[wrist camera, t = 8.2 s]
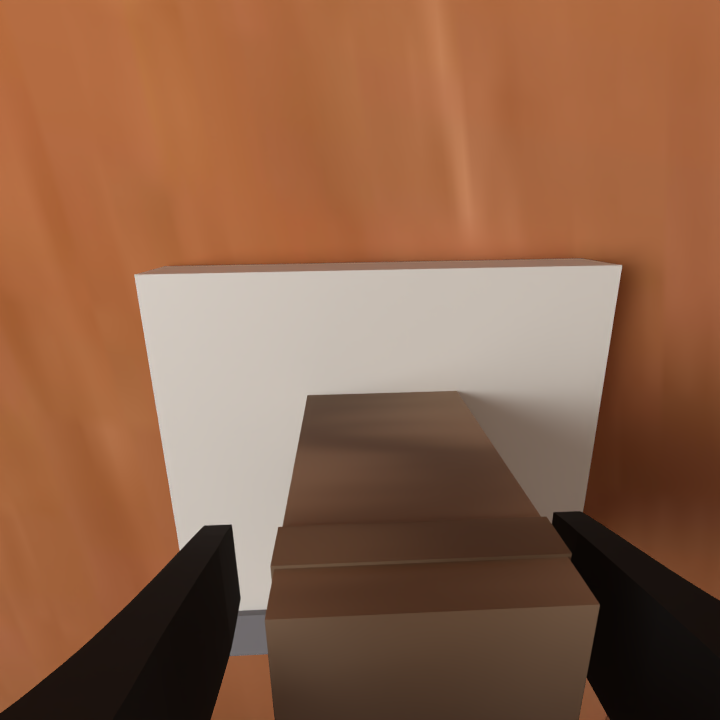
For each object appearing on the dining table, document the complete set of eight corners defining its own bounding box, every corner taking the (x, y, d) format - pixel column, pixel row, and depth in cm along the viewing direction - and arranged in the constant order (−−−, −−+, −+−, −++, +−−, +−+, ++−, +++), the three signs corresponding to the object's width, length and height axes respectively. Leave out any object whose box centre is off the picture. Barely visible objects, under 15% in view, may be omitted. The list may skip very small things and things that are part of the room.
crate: (315, 579, 14) (291, 918, 7) (305, 393, 12) (259, 617, 5) (448, 573, 14) (547, 901, 7) (458, 389, 12) (604, 601, 5)
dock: (213, 601, 16) (194, 657, 14) (165, 266, 13) (130, 275, 11) (538, 586, 17) (566, 639, 15) (581, 258, 13) (627, 265, 11)
